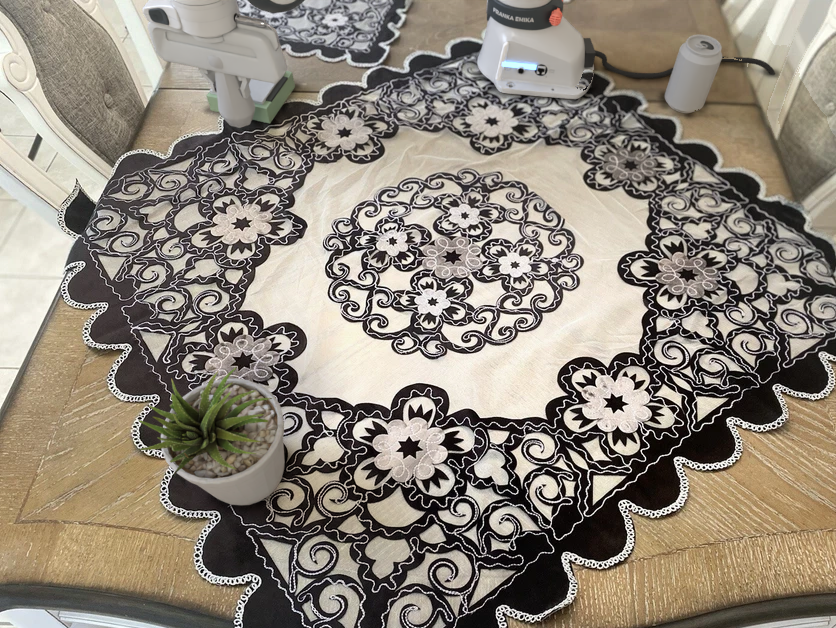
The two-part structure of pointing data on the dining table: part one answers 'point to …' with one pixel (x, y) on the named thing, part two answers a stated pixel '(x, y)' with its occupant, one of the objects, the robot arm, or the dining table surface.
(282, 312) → the dining table surface
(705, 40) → the can
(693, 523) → the dining table surface
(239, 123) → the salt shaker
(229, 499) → the potted plant
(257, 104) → the kitchen scale
